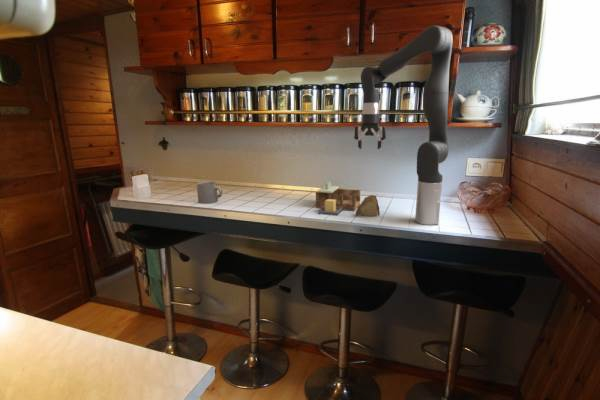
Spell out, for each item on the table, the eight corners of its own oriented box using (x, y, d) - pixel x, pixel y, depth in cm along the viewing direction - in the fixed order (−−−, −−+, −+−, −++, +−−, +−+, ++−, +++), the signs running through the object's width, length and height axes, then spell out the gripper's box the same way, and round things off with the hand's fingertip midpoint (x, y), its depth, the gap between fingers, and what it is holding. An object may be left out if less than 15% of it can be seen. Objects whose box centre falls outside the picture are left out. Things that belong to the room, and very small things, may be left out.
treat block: (335, 210, 160) (335, 199, 159) (333, 212, 157) (333, 201, 155) (327, 209, 162) (327, 198, 160) (325, 211, 158) (325, 200, 157)
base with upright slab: (142, 194, 199) (139, 173, 197) (154, 195, 196) (152, 174, 193) (130, 197, 191) (127, 176, 188) (142, 198, 188) (140, 177, 185)
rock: (351, 212, 150) (373, 212, 145) (353, 195, 153) (375, 194, 148) (359, 221, 158) (380, 221, 153) (361, 204, 161) (382, 204, 156)
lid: (338, 187, 174) (338, 180, 173) (331, 193, 162) (331, 185, 162) (325, 187, 176) (325, 179, 175) (317, 192, 165) (317, 184, 164)
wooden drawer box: (360, 204, 171) (360, 190, 170) (354, 211, 160) (355, 195, 158) (323, 201, 178) (323, 187, 177) (315, 207, 167) (315, 192, 165)
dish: (342, 210, 162) (342, 207, 161) (337, 215, 153) (337, 212, 153) (324, 208, 165) (324, 205, 165) (318, 213, 157) (318, 210, 156)
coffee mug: (194, 202, 179) (192, 183, 177) (207, 198, 188) (205, 180, 185) (214, 205, 173) (212, 185, 171) (226, 200, 182) (225, 182, 180)
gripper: (387, 113, 158) (386, 148, 162) (357, 113, 163) (356, 147, 167) (385, 113, 151) (383, 150, 155) (353, 113, 157) (352, 149, 160)
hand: (369, 148), depth 161 cm, fingers open, 8 cm apart
